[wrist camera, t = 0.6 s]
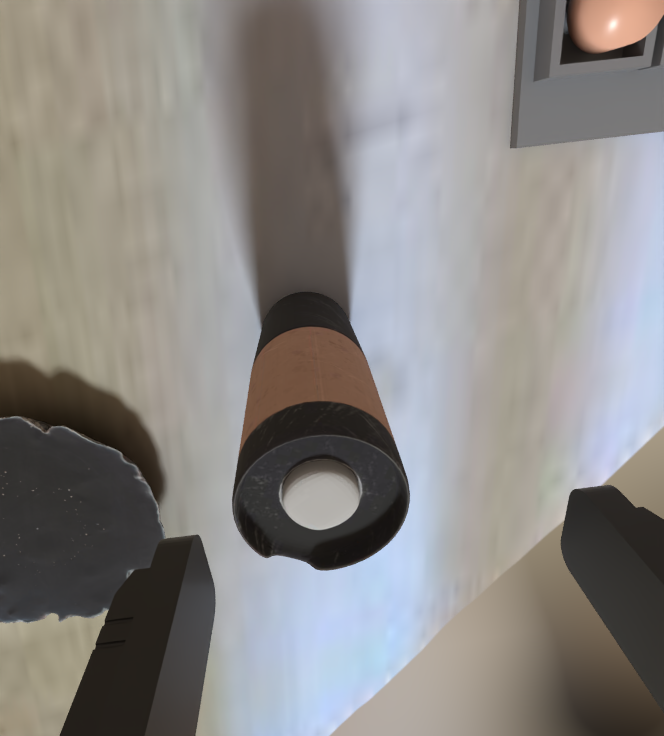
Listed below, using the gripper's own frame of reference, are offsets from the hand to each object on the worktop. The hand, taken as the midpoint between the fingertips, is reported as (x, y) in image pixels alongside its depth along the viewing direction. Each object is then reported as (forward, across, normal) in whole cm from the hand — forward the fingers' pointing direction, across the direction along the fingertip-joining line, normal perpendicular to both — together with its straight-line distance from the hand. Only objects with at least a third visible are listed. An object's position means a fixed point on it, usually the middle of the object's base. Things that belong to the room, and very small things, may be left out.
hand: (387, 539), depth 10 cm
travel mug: (+27, +1, +6) cm, 28 cm away
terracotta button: (+25, -18, -14) cm, 34 cm away
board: (+28, +26, +19) cm, 43 cm away
